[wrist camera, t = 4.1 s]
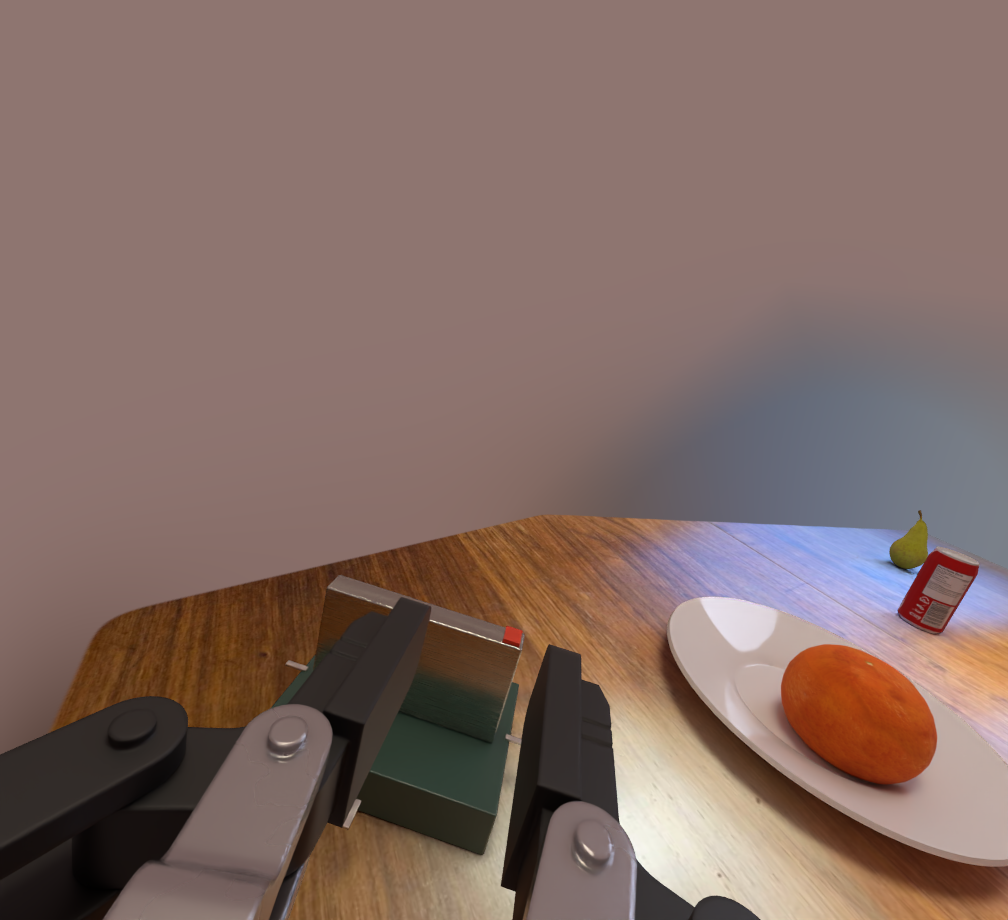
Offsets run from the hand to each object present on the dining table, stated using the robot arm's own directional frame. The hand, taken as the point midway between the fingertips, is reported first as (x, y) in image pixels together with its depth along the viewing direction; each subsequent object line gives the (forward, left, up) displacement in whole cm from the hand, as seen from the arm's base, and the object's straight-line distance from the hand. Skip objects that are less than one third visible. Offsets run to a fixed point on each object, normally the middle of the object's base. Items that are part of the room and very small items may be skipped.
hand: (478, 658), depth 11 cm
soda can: (+61, +63, -20) cm, 90 cm away
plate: (+30, +31, -20) cm, 48 cm away
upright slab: (-4, +15, -17) cm, 23 cm away
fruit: (+76, +91, -20) cm, 120 cm away
